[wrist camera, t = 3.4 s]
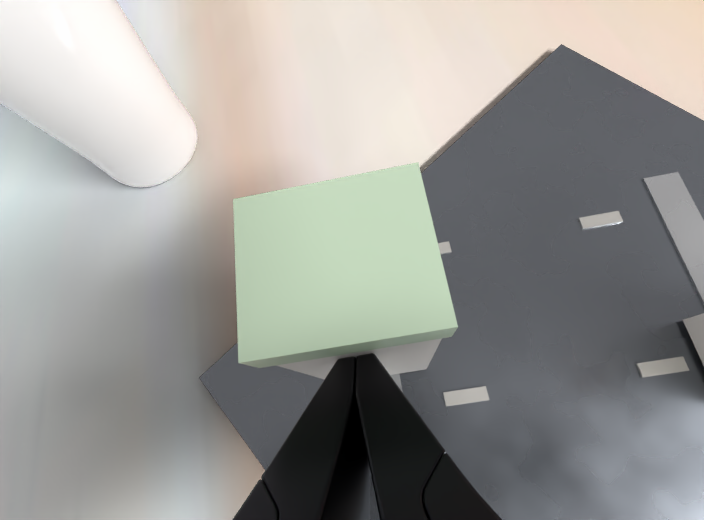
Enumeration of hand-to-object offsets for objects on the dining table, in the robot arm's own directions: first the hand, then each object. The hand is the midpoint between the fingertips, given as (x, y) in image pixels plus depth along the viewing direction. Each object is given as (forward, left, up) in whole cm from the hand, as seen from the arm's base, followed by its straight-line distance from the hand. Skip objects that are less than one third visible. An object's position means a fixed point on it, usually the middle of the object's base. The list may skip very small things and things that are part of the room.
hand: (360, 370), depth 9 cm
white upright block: (+1, -1, -7) cm, 7 cm away
